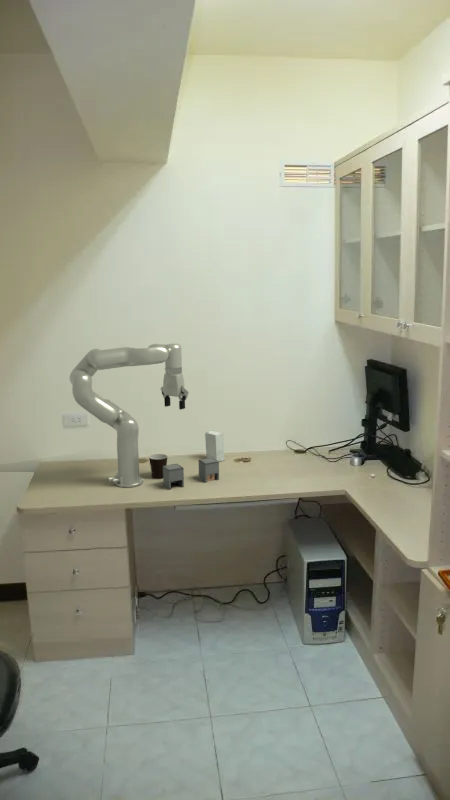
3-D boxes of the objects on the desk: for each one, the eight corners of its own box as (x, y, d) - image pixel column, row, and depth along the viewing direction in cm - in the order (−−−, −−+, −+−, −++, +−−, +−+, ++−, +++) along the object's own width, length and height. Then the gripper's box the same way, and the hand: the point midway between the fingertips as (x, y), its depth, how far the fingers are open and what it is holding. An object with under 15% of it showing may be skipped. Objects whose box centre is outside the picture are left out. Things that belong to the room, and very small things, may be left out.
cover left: (169, 489, 258) (169, 470, 256) (163, 484, 264) (162, 466, 262) (183, 486, 261) (183, 467, 259) (177, 482, 267) (177, 463, 265)
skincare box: (224, 460, 298) (224, 432, 295) (216, 463, 294) (215, 434, 291) (213, 457, 304) (213, 429, 301) (205, 459, 300) (204, 431, 297)
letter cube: (207, 481, 268) (207, 473, 268) (203, 478, 272) (203, 470, 271) (214, 479, 270) (214, 471, 269) (210, 477, 274) (210, 469, 273)
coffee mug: (164, 480, 270) (164, 459, 268) (147, 479, 272) (146, 458, 270) (172, 472, 281) (171, 452, 279) (155, 471, 283) (154, 451, 281)
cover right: (205, 482, 266) (205, 463, 265) (198, 478, 272) (198, 459, 271) (219, 479, 270) (218, 461, 268) (212, 475, 276) (211, 457, 274)
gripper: (154, 370, 268) (156, 406, 271) (181, 373, 257) (182, 411, 260) (166, 368, 273) (167, 403, 277) (193, 371, 262) (193, 408, 266)
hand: (174, 407), depth 269 cm, fingers open, 9 cm apart
